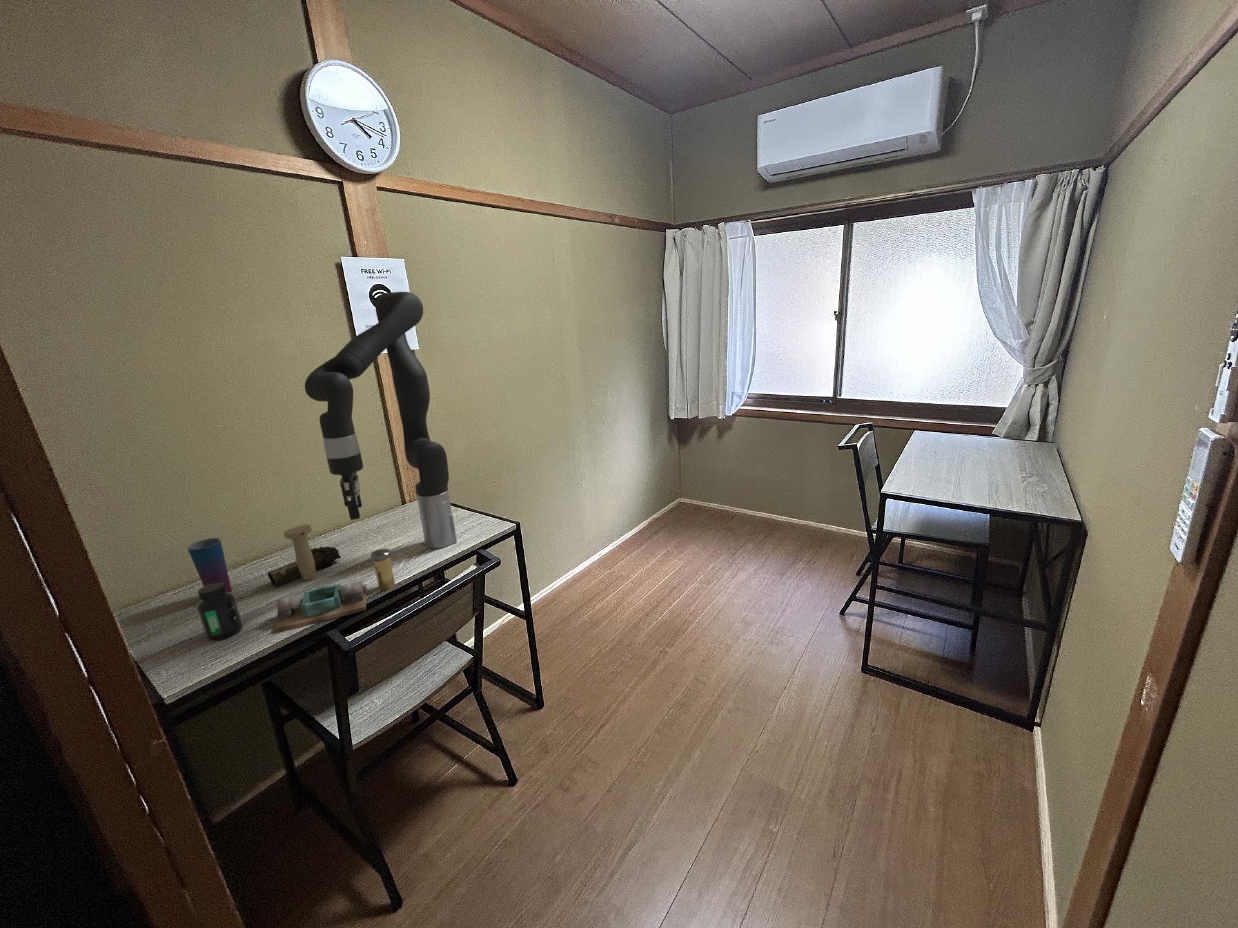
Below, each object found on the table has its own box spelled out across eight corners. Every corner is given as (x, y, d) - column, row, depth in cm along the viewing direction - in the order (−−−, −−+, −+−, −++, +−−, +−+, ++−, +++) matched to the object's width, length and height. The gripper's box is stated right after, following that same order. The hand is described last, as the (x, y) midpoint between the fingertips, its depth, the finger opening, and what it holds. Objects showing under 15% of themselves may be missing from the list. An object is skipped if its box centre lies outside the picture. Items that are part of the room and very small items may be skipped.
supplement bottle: (222, 643, 114) (206, 597, 110) (200, 639, 116) (184, 593, 112) (250, 625, 120) (236, 581, 117) (228, 621, 122) (214, 578, 118)
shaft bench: (366, 587, 135) (363, 570, 133) (365, 610, 124) (361, 592, 123) (284, 606, 127) (279, 589, 126) (276, 632, 117) (270, 614, 116)
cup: (201, 603, 130) (183, 551, 126) (207, 591, 136) (191, 541, 132) (233, 596, 133) (217, 545, 129) (238, 584, 139) (222, 535, 135)
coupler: (396, 580, 138) (389, 547, 135) (396, 587, 134) (389, 554, 131) (377, 584, 136) (370, 551, 133) (377, 592, 132) (370, 558, 129)
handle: (325, 575, 142) (314, 526, 138) (302, 585, 137) (289, 535, 133) (317, 570, 145) (305, 523, 140) (293, 581, 140) (280, 532, 135)
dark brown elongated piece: (276, 589, 136) (271, 571, 135) (268, 582, 141) (262, 564, 139) (343, 562, 149) (339, 545, 148) (334, 556, 153) (329, 540, 152)
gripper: (358, 457, 120) (371, 519, 125) (361, 444, 132) (373, 501, 137) (322, 462, 117) (337, 526, 122) (329, 448, 130) (342, 506, 135)
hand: (356, 512), depth 130 cm, fingers open, 8 cm apart
